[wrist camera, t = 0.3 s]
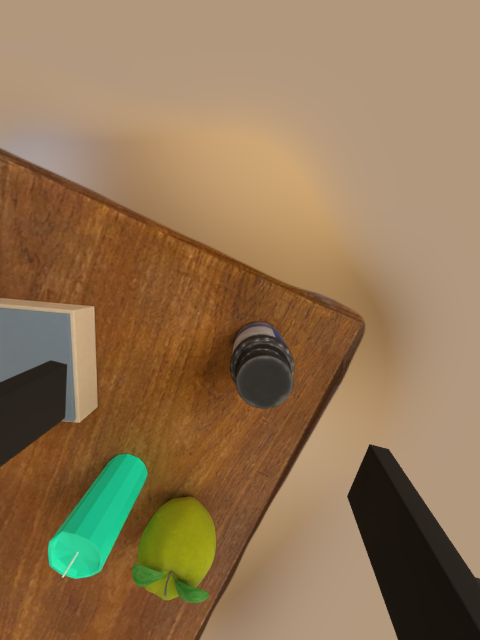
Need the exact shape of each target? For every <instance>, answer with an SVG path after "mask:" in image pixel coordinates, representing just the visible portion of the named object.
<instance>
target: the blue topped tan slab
mask: <svg viewBox="0 0 480 640" xmlns="http://www.w3.org/2000/svg"><path fill="white" fill-rule="evenodd" d="M50 360H52V361H56V362H60V363H64V364H67V384H66V411H65V418H64V419H63V420H62V421H66V422H76V423H80V422H81V421H82V420H83V419H84V418H85V417H87V416H88V415H89V414H90V413H91V412H92V411H93V410H95V409H96V408H97V407H98V398H97V369H96V340H95V312H94V306H85V305H73V304H62V303H51V302H40V301H28V300H17V299H6V298H0V382H2V381H4V380H6V379H9V378H11V377H13V376H16V375H18V374H20V373H22V372H25V371H27V370H29V369H32V368H34V367H36V366H39V365H41V364H43V363H45V362H48V361H50Z"/></svg>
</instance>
